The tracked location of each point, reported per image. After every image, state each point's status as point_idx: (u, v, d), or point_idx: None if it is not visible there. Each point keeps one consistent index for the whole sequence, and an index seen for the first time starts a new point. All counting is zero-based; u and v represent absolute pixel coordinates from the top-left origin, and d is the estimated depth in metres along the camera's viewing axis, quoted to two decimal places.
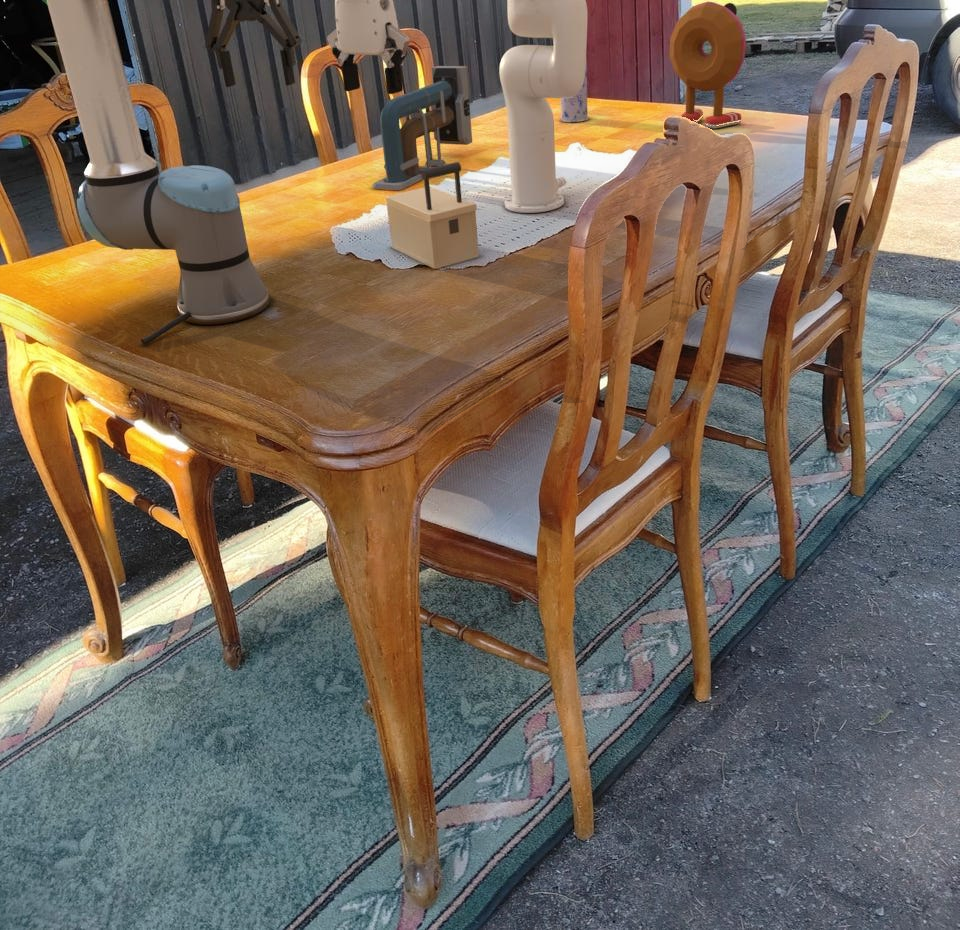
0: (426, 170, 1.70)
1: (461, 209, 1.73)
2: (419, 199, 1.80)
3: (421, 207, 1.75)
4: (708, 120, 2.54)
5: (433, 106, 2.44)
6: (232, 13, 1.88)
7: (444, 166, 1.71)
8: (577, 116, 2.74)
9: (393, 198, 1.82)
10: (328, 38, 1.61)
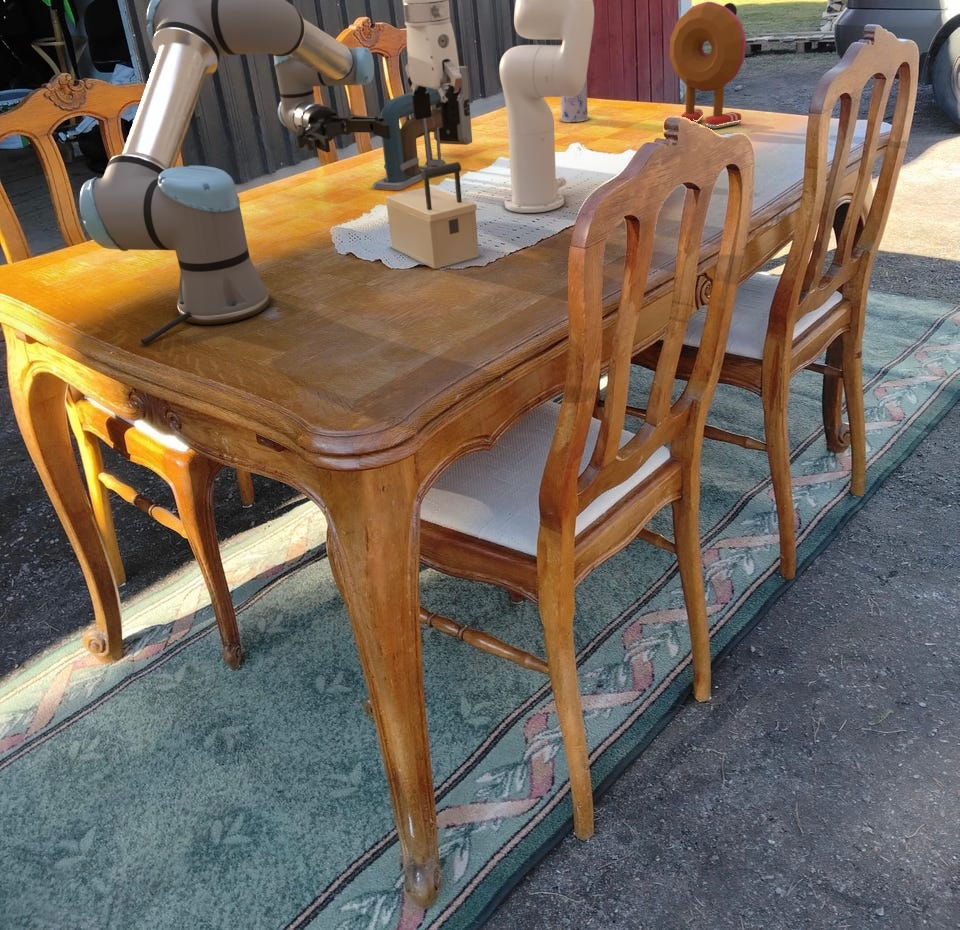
0: (426, 170, 1.70)
1: (461, 209, 1.73)
2: (419, 199, 1.80)
3: (421, 207, 1.75)
4: (708, 120, 2.54)
5: (433, 106, 2.44)
6: (320, 121, 2.04)
7: (444, 166, 1.71)
8: (577, 116, 2.74)
9: (393, 198, 1.82)
10: (406, 68, 1.69)
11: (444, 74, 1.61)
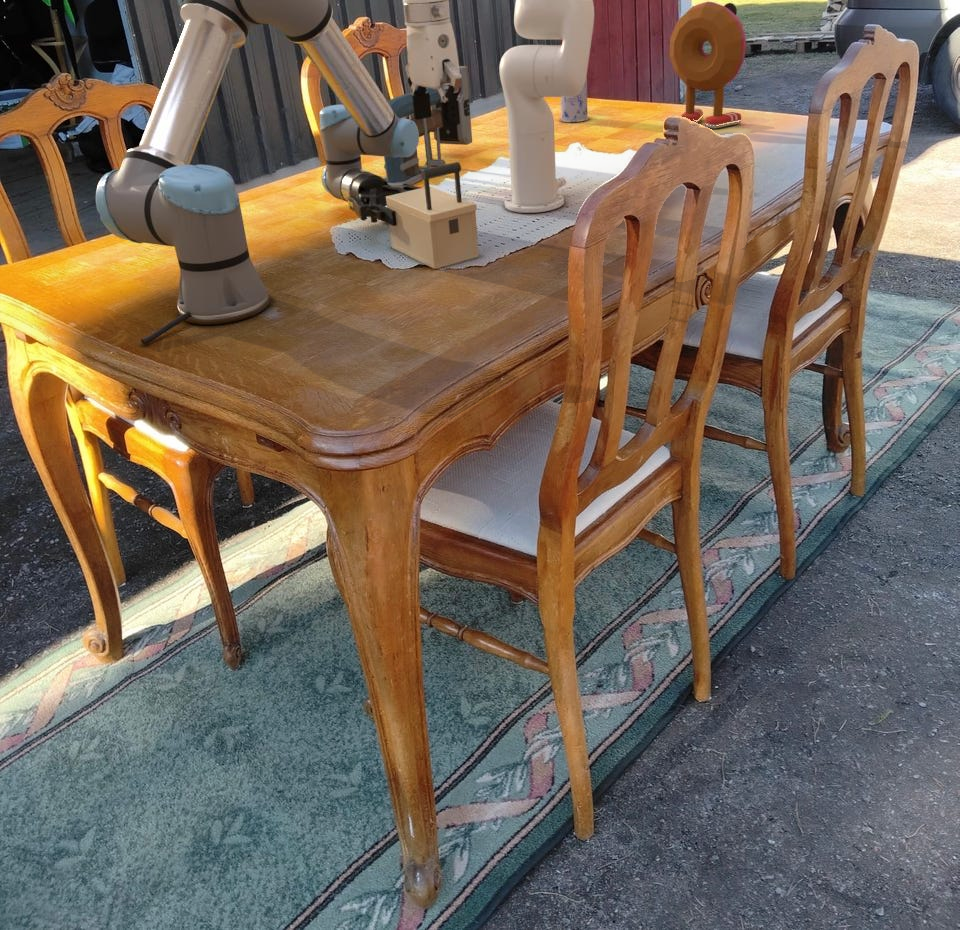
0: (426, 170, 1.70)
1: (461, 209, 1.73)
2: (419, 199, 1.80)
3: (421, 207, 1.75)
4: (708, 120, 2.54)
5: (433, 106, 2.44)
6: (373, 191, 1.94)
7: (444, 166, 1.71)
8: (577, 116, 2.74)
9: (393, 198, 1.82)
10: (406, 68, 1.69)
11: (444, 74, 1.61)
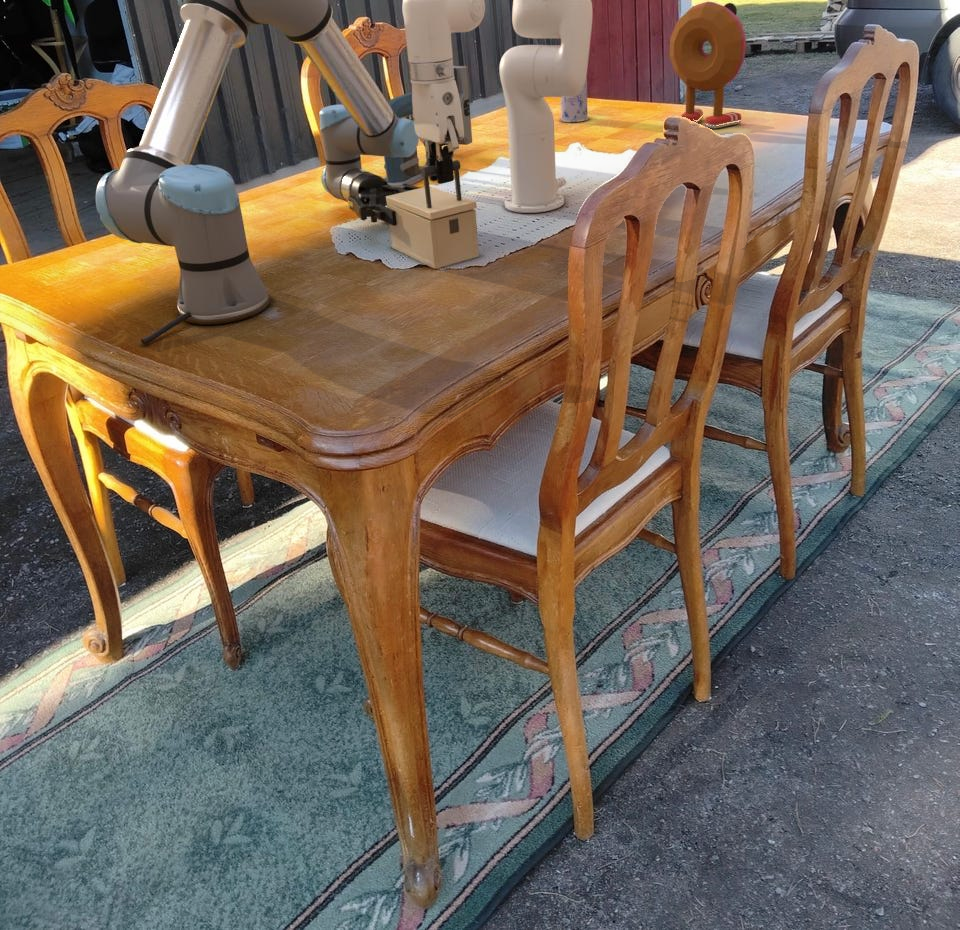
0: (426, 168, 1.70)
1: (461, 207, 1.73)
2: (419, 198, 1.80)
3: (421, 206, 1.75)
4: (708, 120, 2.54)
5: None
6: (373, 191, 1.94)
7: None
8: (577, 116, 2.74)
9: (393, 198, 1.82)
10: (419, 137, 1.73)
11: None
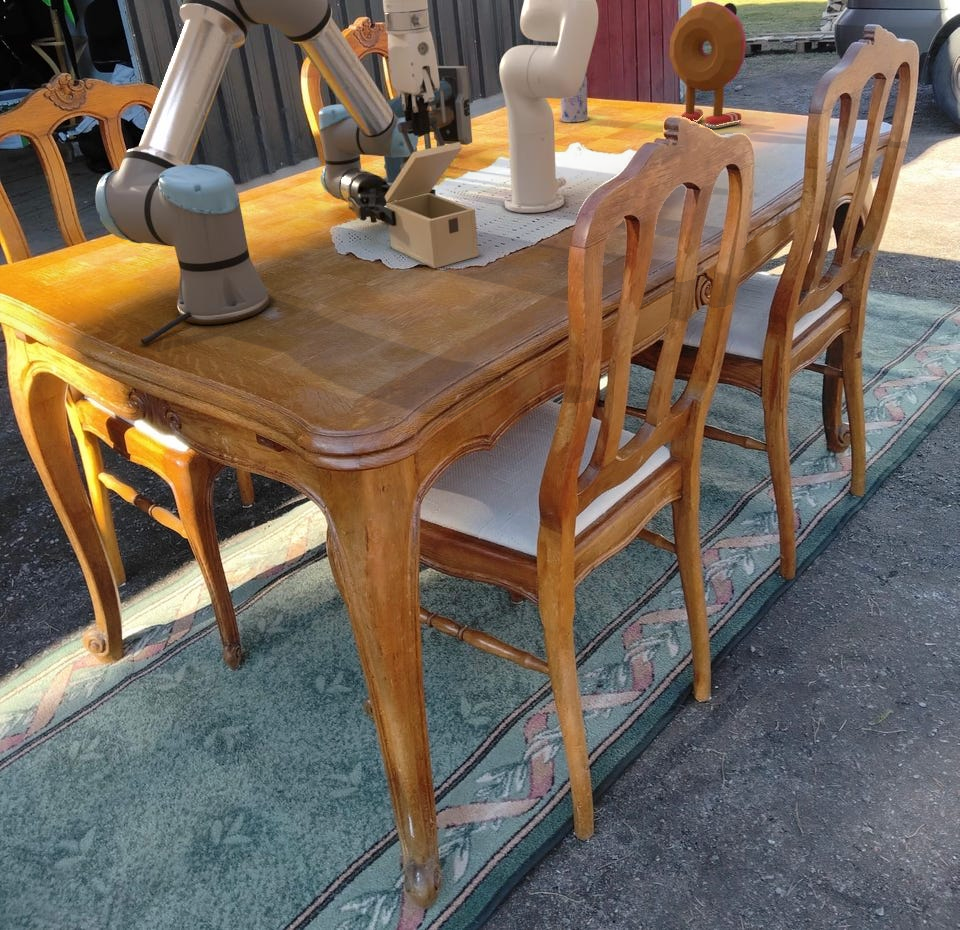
0: (401, 122, 1.72)
1: (445, 146, 1.71)
2: None
3: None
4: (708, 120, 2.54)
5: (433, 106, 2.44)
6: (372, 191, 1.94)
7: None
8: (577, 116, 2.74)
9: None
10: (396, 91, 1.75)
11: None
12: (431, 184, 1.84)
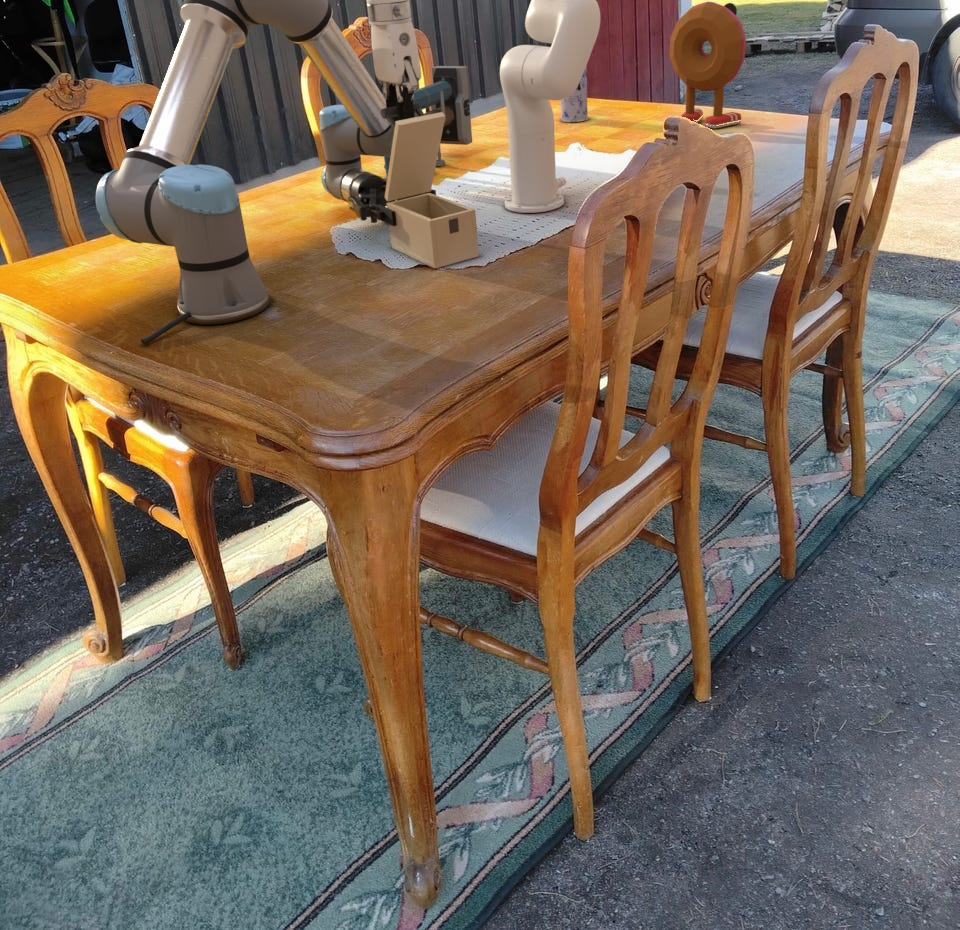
0: (383, 109, 1.76)
1: (428, 116, 1.73)
2: None
3: None
4: (708, 120, 2.54)
5: (433, 106, 2.44)
6: (373, 192, 1.94)
7: None
8: (577, 116, 2.74)
9: None
10: (378, 78, 1.79)
11: None
12: (428, 176, 1.84)
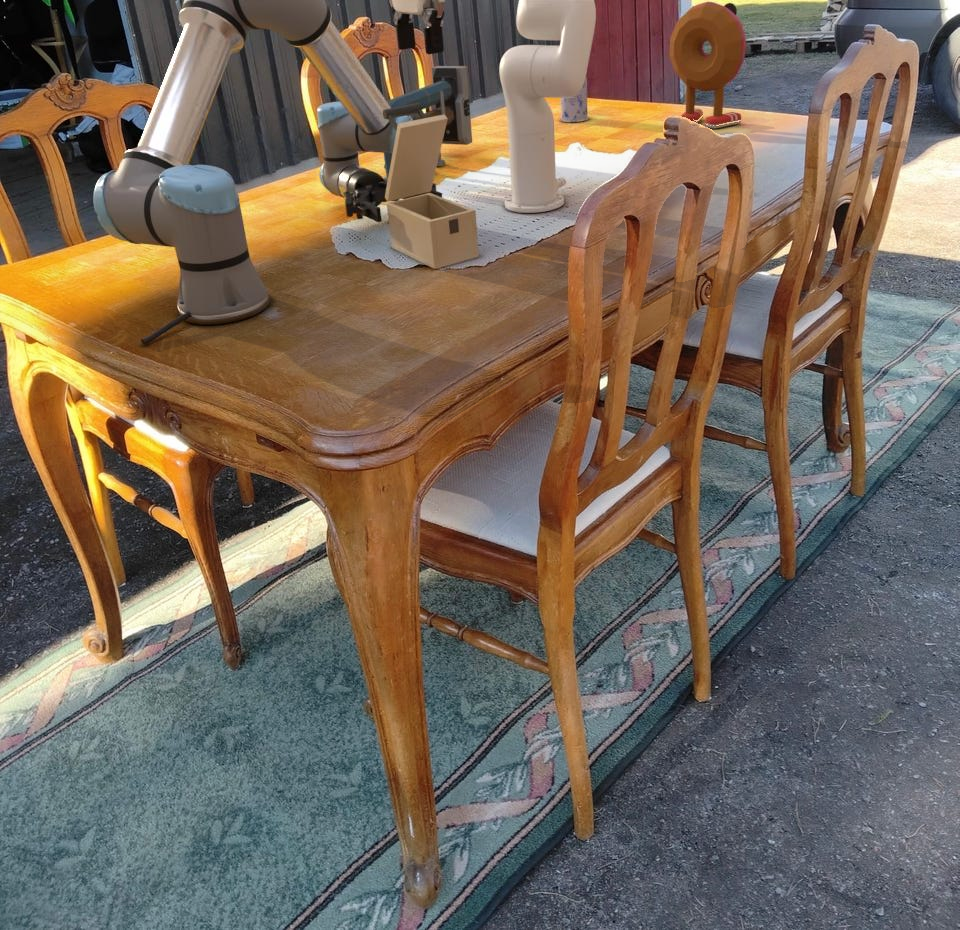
0: None
1: (430, 118, 1.72)
2: None
3: None
4: (708, 120, 2.54)
5: (433, 106, 2.44)
6: (368, 188, 1.96)
7: None
8: (577, 116, 2.74)
9: None
10: None
11: None
12: (428, 177, 1.84)
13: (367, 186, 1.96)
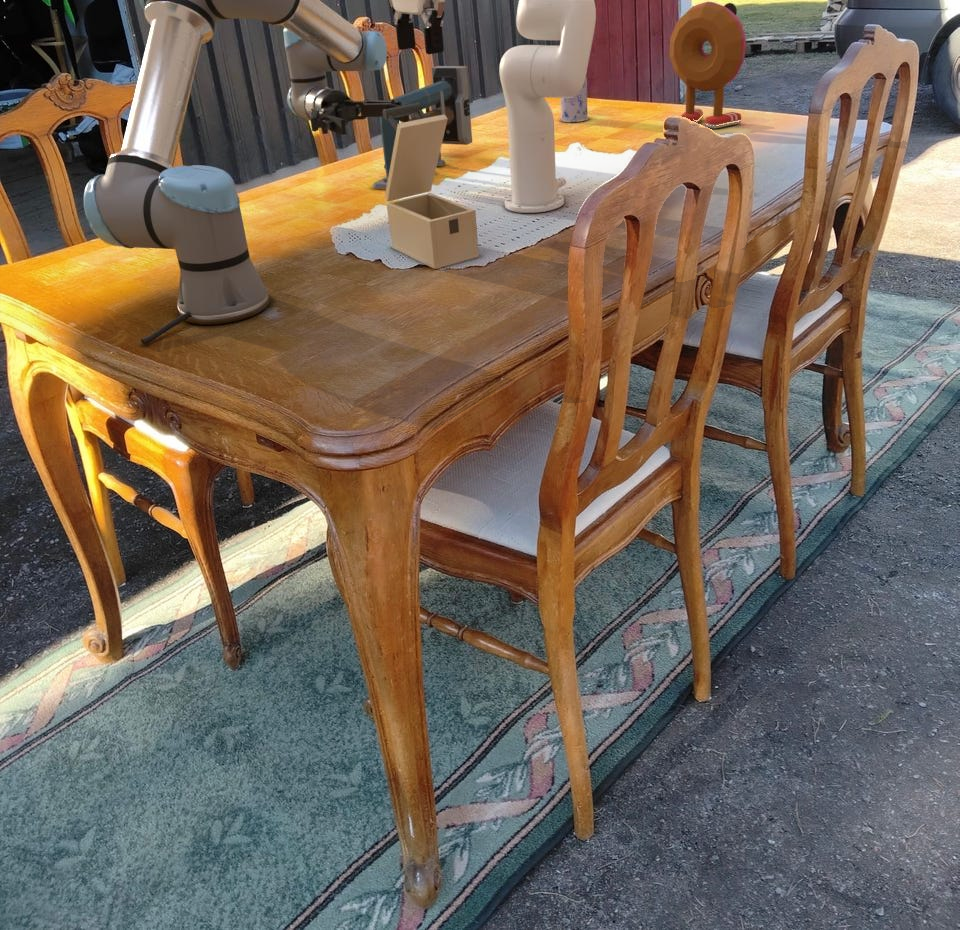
0: None
1: (430, 118, 1.72)
2: None
3: None
4: (708, 120, 2.54)
5: (433, 106, 2.44)
6: (333, 105, 1.96)
7: None
8: (577, 116, 2.74)
9: None
10: None
11: None
12: (428, 177, 1.84)
13: (333, 104, 1.96)
